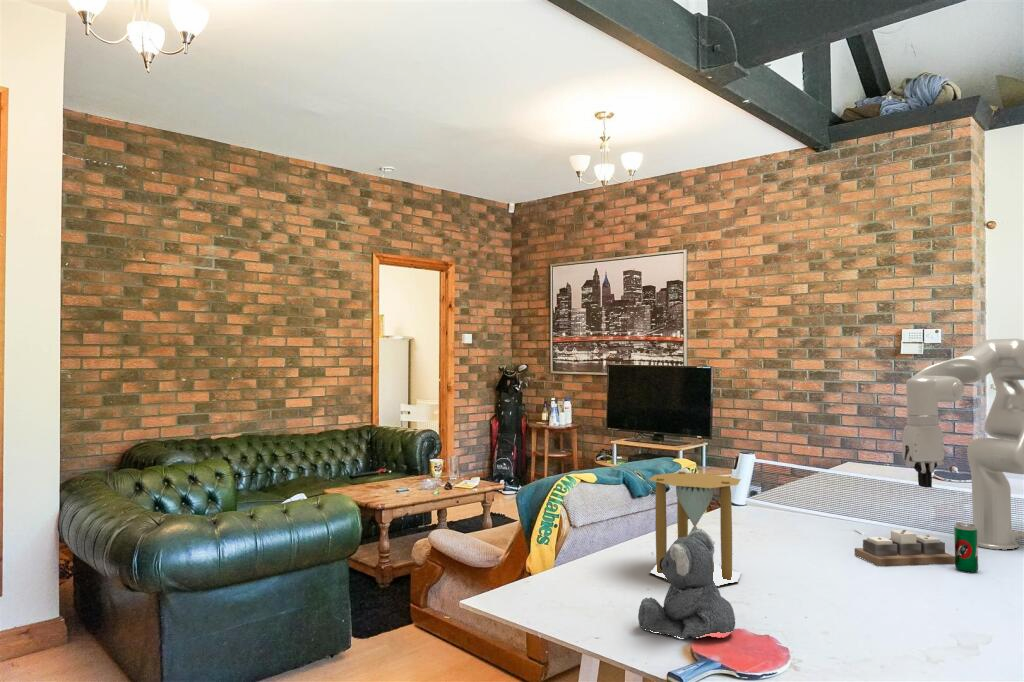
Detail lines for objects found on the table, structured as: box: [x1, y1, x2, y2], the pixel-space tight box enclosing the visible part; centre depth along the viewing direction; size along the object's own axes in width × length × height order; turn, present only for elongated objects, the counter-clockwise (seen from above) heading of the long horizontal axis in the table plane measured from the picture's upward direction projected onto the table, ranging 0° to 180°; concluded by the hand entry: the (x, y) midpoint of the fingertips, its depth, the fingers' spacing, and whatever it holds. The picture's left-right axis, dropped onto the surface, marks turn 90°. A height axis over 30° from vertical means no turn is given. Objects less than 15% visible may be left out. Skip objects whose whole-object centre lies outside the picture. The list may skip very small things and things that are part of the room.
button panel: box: [854, 538, 955, 567], centre depth 192 cm, size 22×11×5 cm, turn 96°
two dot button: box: [916, 534, 941, 543], centre depth 193 cm, size 4×4×4 cm
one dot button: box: [867, 536, 892, 545], centre depth 192 cm, size 4×4×4 cm
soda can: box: [953, 522, 979, 574], centre depth 182 cm, size 5×5×12 cm
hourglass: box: [647, 470, 741, 580], centre depth 180 cm, size 24×22×25 cm
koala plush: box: [637, 528, 736, 639], centre depth 144 cm, size 17×18×20 cm
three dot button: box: [890, 529, 917, 544], centre depth 192 cm, size 4×4×4 cm
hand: (925, 486), depth 195 cm, fingers closed
